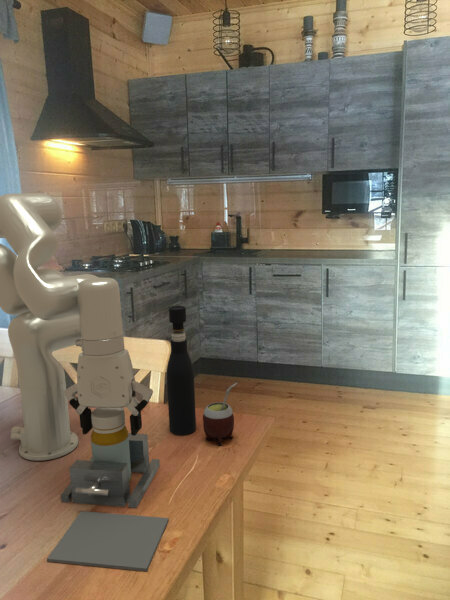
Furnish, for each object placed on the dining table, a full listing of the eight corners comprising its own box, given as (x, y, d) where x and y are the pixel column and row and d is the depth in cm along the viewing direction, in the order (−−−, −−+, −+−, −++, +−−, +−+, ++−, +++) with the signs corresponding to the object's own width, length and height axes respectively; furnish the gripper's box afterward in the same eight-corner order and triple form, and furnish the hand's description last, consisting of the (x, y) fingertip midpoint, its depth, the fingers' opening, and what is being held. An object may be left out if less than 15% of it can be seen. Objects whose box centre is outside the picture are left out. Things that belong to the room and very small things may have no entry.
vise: (54, 510, 89) (50, 474, 88) (93, 461, 106) (91, 431, 104) (131, 516, 87) (129, 480, 86) (159, 465, 103) (157, 434, 102)
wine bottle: (164, 433, 117) (158, 309, 112) (176, 422, 123) (170, 304, 117) (189, 437, 115) (184, 311, 109) (200, 425, 121) (195, 305, 115)
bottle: (123, 494, 93) (117, 420, 90) (88, 491, 95) (82, 418, 92) (136, 474, 100) (132, 405, 97) (104, 471, 101) (98, 403, 98)
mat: (47, 561, 77) (46, 558, 76) (81, 513, 88) (81, 510, 88) (146, 571, 74) (146, 568, 74) (168, 520, 86) (168, 518, 85)
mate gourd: (203, 433, 117) (201, 372, 114) (236, 431, 118) (235, 371, 115) (204, 448, 110) (201, 384, 107) (239, 446, 110) (238, 382, 107)
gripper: (49, 351, 90) (60, 439, 93) (141, 351, 87) (149, 442, 90) (69, 340, 97) (78, 422, 100) (154, 339, 94) (161, 424, 97)
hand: (111, 431), depth 95 cm, fingers open, 9 cm apart
